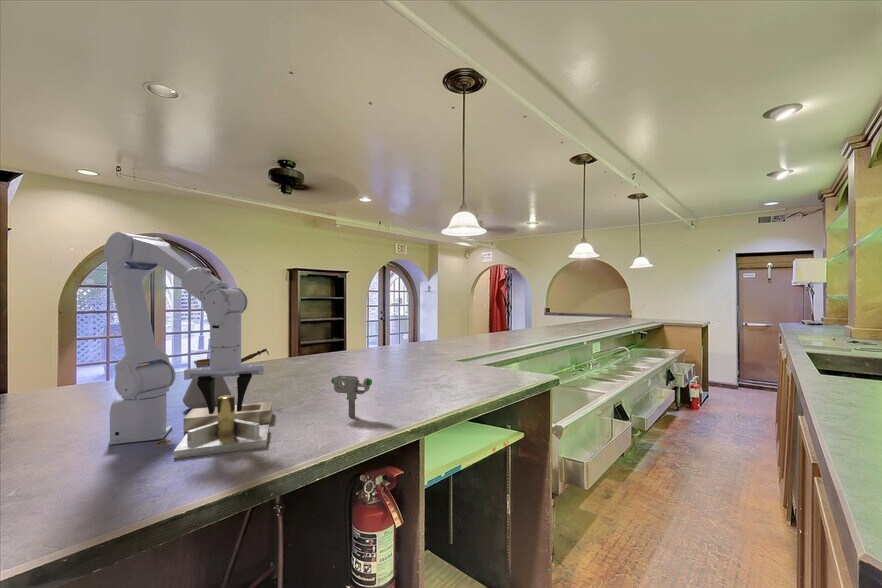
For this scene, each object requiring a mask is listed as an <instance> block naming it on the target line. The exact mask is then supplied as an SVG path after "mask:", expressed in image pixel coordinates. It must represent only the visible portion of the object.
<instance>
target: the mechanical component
mask: <svg viewBox="0 0 882 588" xmlns="http://www.w3.org/2000/svg"><path fill="white" fill-rule="evenodd" d="M331 384H333V390H334V392H335V393H337V394H346V400H348V418H349V417H353V418H354V417H355V416H356V400H357V399H358V396H357V395H363V394H365V393H367V392H369V390H370V389H371V388H370V387H371V386H372V385H373V380H372V378H369V377H365V378H364V380H363V382H362V383H361V382H360V380H359V376H355V375H337V376H333V377H332V378H331ZM358 388H363V389H358Z"/></svg>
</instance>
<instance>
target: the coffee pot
mask: <svg viewBox="0 0 882 588" xmlns="http://www.w3.org/2000/svg"><path fill="white" fill-rule="evenodd" d="M265 352H266V353H267V355H268V356H270V354H269V351H268V349H267V348H264V349H261V350H257V352H254V353H251V354H248V355H246V356H244V357H241V364H242V363H244V362H247V361H249V360H251V359H254V358H255V357H256V356H258V355H259V356H260V355H261V354H262V353H265ZM193 363H194V364H195V368H200V367H210V358H203V359H197V360H194V361H193ZM190 380H191V381H190V383H189V385H188V387H187V389H186V391H185V393H184V395H183V397H182V403H184V405H185V406H186V407H187V408H189V409H190V411H191V410H192V409H196V408H207V407H208V406H207V403H206V400H205V398H204V396H203V394H202V392H201V390H200V389H199V387H198V385H197V382H198V378H196V379H190ZM225 395H232V392H231V390H230V388H229V386H228V384H227V381H226V380H225V377H215V387H214V400H215V407H217V398H218V397H220V396H225Z"/></svg>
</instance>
